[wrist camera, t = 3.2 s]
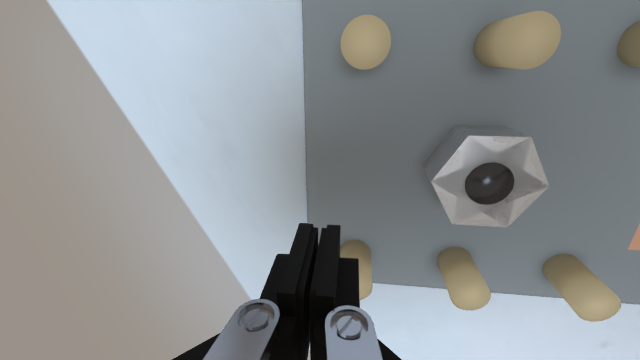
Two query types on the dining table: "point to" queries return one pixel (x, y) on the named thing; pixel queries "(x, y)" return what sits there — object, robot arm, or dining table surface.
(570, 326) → the dining table surface
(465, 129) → the hex nut
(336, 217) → the spacer board
